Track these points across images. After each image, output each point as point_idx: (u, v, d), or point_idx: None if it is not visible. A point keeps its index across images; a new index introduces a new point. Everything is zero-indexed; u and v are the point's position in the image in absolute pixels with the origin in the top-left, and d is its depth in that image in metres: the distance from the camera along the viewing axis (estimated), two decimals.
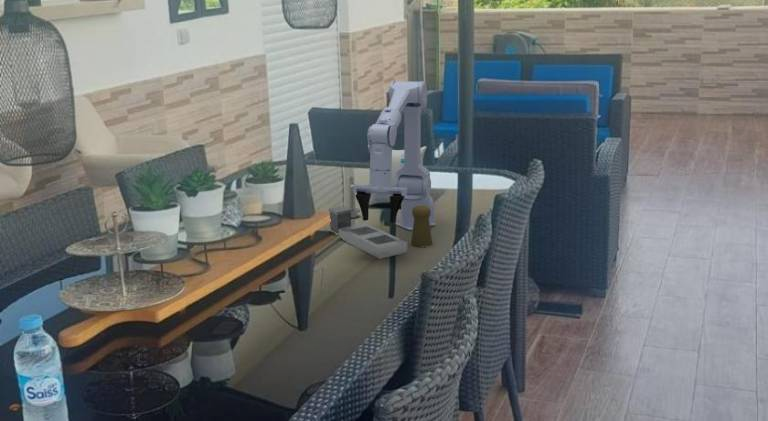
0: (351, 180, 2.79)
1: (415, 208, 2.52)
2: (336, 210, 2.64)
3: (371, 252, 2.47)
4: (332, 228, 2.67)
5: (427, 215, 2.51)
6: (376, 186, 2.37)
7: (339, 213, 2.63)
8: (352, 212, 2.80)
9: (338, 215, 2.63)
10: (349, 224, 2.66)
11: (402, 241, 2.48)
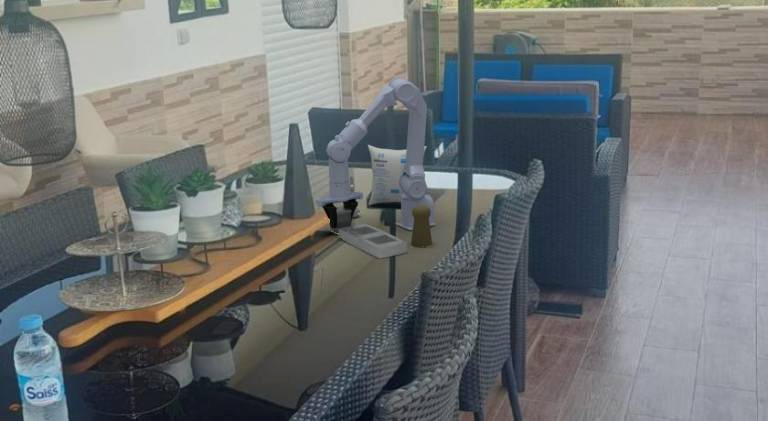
0: (351, 180, 2.79)
1: (415, 208, 2.52)
2: None
3: (371, 252, 2.47)
4: (332, 228, 2.67)
5: (427, 215, 2.51)
6: None
7: (339, 213, 2.63)
8: None
9: (338, 215, 2.63)
10: (349, 224, 2.66)
11: (402, 241, 2.48)
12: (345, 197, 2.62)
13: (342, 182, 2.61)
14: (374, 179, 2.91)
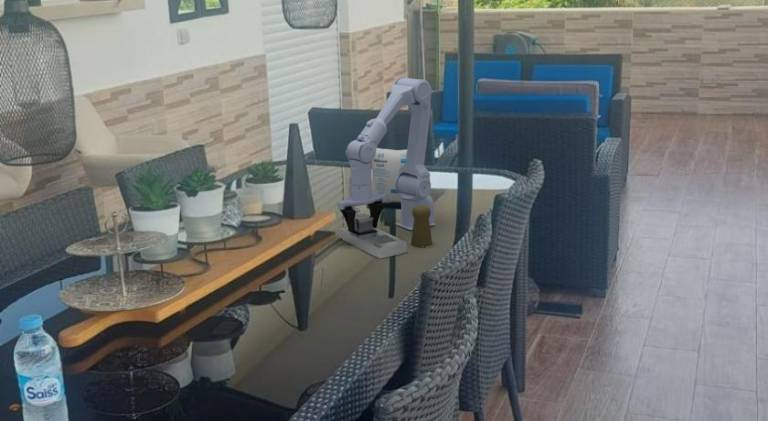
0: None
1: (415, 208, 2.52)
2: (358, 218, 2.56)
3: (371, 252, 2.47)
4: None
5: (427, 215, 2.51)
6: None
7: (361, 221, 2.55)
8: None
9: (360, 223, 2.55)
10: (371, 232, 2.58)
11: (402, 241, 2.48)
12: (368, 199, 2.53)
13: (369, 183, 2.53)
14: (374, 179, 2.91)
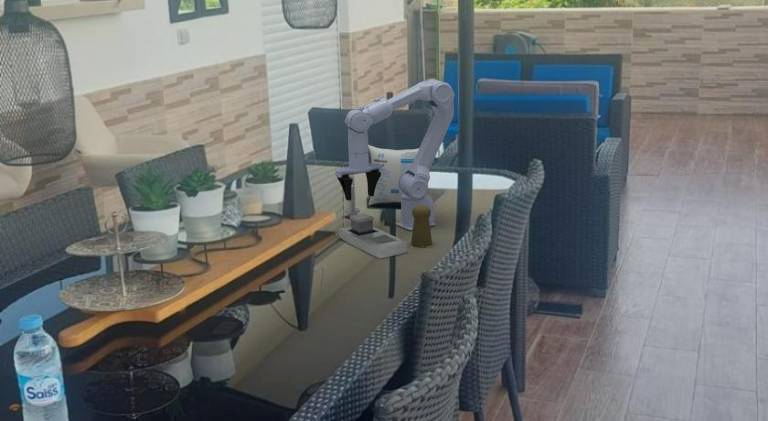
0: None
1: (415, 208, 2.52)
2: (358, 218, 2.56)
3: (371, 252, 2.47)
4: None
5: (427, 215, 2.51)
6: None
7: (361, 221, 2.55)
8: (352, 212, 2.80)
9: (360, 223, 2.55)
10: (371, 232, 2.58)
11: (402, 241, 2.48)
12: (364, 168, 2.60)
13: (362, 152, 2.59)
14: None
